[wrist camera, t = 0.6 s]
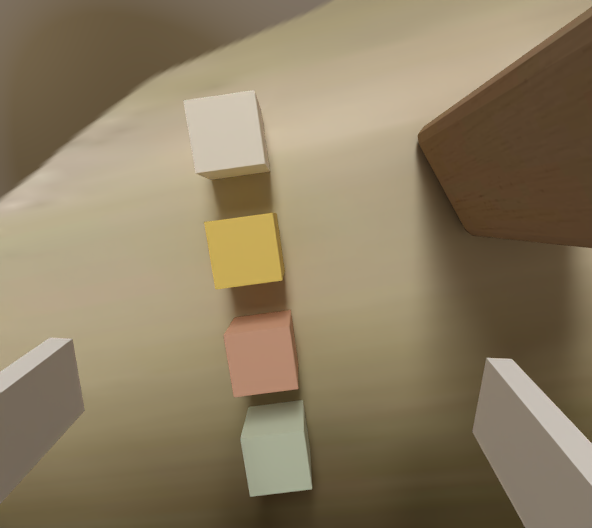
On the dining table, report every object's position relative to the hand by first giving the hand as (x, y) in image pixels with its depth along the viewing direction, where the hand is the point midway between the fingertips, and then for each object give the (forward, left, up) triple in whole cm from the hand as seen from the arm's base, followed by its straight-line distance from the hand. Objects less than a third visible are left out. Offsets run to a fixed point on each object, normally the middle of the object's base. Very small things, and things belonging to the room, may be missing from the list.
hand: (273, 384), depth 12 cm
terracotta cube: (-6, -1, -21) cm, 22 cm away
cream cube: (+7, +10, -21) cm, 24 cm away
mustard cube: (+1, +4, -21) cm, 21 cm away
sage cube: (-12, -7, -21) cm, 25 cm away
